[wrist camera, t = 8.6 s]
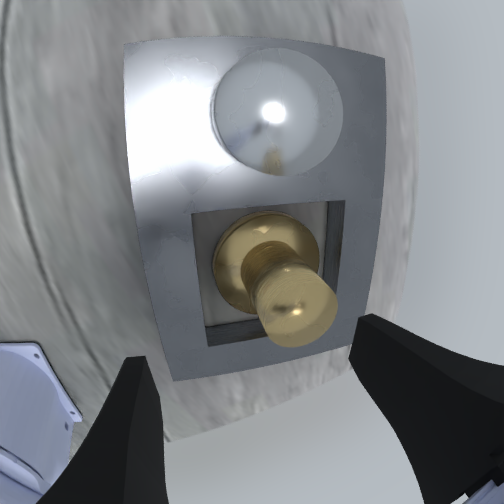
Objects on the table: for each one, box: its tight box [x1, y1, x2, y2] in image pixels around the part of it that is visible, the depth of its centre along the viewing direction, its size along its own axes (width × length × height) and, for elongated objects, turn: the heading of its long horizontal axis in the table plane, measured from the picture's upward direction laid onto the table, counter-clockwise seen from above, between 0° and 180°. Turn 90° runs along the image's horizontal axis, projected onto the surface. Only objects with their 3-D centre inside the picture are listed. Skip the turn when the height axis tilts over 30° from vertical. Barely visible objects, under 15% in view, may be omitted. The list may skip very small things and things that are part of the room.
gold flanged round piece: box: [213, 211, 338, 347], centre depth 16 cm, size 6×6×6 cm
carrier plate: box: [124, 36, 386, 381], centre depth 16 cm, size 20×14×4 cm
